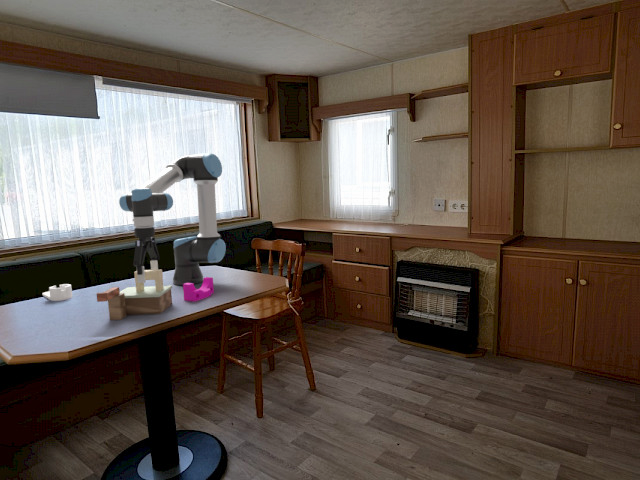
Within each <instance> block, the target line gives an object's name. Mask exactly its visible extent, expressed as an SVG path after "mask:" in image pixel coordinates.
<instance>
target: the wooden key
mask: <svg viewBox="0 0 640 480" xmlns="http://www.w3.org/2000/svg"><path fill="white" fill-rule="evenodd" d="M120 291H121V290H120V287H116V286H115V287H111V288H109V289H107V290H105V291H103V292H97V293H96V302H99V303H100V302H101V303H102V302H108V300H109V299H111V298H112V297H114V296H116V295H118V294H120Z"/></svg>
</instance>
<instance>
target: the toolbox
mask: <svg viewBox="0 0 640 480" xmlns="http://www.w3.org/2000/svg"><path fill="white" fill-rule="evenodd" d="M107 305H108V315H109V321H115V320H117V321H118V320H123V319H124V318H126V317H127V316H135V315H136V316H137V315H139V316H140V315H161V314H162V313H163V312H164V311H166V310H167V309H169V308H170V307H171V306H172V305H173V299H172V288H171V289H170V290H169V291H167V292H166V293H164V294H163V295H161V296H160V297H146V298H125V295H124V293H120V294H118V295H116V296H114V297H112V298H111V299H109V300H108V301H107Z"/></svg>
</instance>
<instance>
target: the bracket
mask: <svg viewBox="0 0 640 480" xmlns="http://www.w3.org/2000/svg"><path fill="white" fill-rule="evenodd" d="M42 296H43V297H45V299H46V298H47V300H49V301H53V302H59V301H65V300H69V299H72V298H73V289H72V284H69V283H63V284H59V287H57V285H53V286H49V287H48V291H45V292H42Z"/></svg>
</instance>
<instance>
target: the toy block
mask: <svg viewBox="0 0 640 480" xmlns="http://www.w3.org/2000/svg"><path fill="white" fill-rule="evenodd" d="M182 289H183V299H184V301H186V302H187V301H188V302H197V301H201V300H204V299H206V298H209V297H211V296H212V294H214V292H215V289H214V278H213V276H212V277H210V276H209V277H208V276H206V277H203V281H202V284H201V285H200V287H199V288H196V286H195V284H194V283H185V284H183V285H182Z"/></svg>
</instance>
